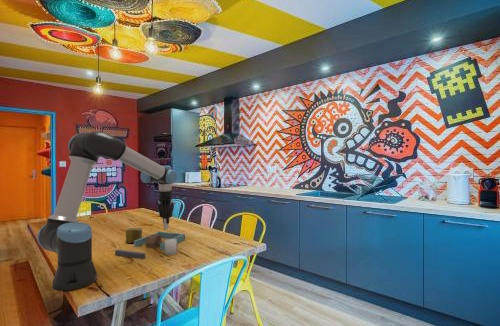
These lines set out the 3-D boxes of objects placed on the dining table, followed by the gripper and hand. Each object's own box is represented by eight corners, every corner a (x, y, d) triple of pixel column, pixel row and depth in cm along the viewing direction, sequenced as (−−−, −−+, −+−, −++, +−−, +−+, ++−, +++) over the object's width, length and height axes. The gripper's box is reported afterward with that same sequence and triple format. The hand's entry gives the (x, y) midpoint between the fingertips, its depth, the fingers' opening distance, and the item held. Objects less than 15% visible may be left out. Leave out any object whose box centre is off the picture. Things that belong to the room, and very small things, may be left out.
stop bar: (142, 259, 135) (142, 254, 135) (115, 255, 141) (115, 250, 141) (145, 257, 136) (145, 253, 136) (118, 253, 143) (118, 249, 143)
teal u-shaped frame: (161, 250, 147) (161, 244, 147) (134, 247, 154) (134, 240, 154) (184, 239, 168) (184, 233, 168) (159, 236, 175) (159, 231, 175)
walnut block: (154, 248, 152) (154, 237, 152) (145, 247, 154) (145, 236, 154) (161, 245, 157) (161, 235, 157) (153, 244, 159) (152, 234, 159)
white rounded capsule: (172, 255, 139) (171, 242, 139) (162, 254, 141) (162, 241, 141) (178, 252, 145) (178, 239, 145) (169, 250, 147) (169, 238, 147)
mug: (137, 241, 158) (134, 225, 160) (122, 246, 160) (120, 229, 162) (150, 240, 169) (147, 224, 172) (136, 244, 171) (134, 228, 174)
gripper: (177, 190, 167) (178, 227, 167) (160, 189, 171) (161, 226, 172) (170, 191, 160) (171, 231, 160) (152, 191, 164) (153, 229, 165)
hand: (166, 228), depth 166 cm, fingers closed
